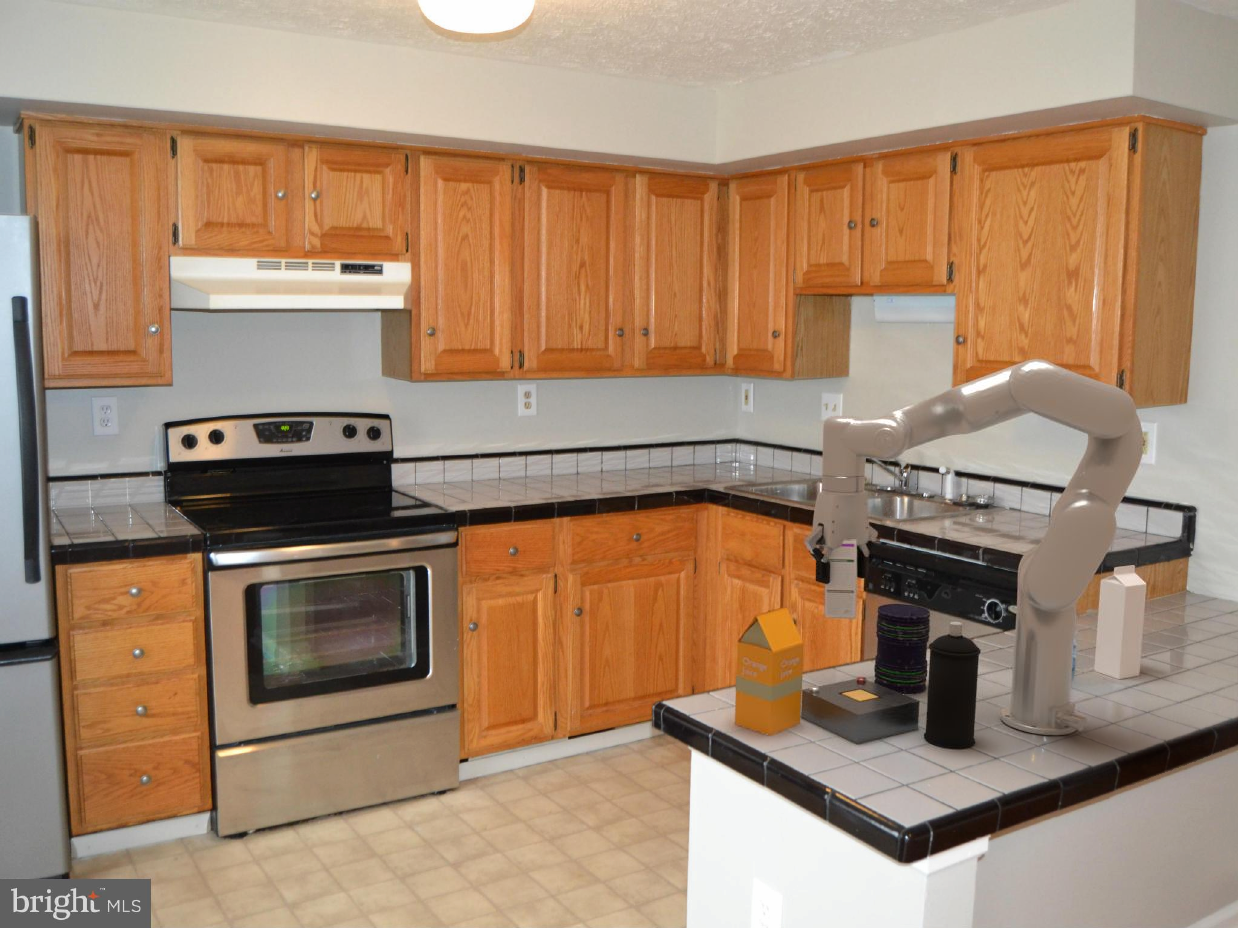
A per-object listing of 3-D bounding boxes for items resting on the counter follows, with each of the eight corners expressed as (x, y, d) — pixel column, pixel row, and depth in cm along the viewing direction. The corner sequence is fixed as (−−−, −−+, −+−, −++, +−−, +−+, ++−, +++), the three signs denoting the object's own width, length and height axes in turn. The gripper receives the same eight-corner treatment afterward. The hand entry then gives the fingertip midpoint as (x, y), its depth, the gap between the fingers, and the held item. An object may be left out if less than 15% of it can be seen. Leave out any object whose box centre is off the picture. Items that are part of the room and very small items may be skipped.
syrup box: (856, 619, 195) (858, 540, 193) (823, 617, 196) (825, 538, 194) (856, 611, 200) (858, 534, 198) (823, 610, 201) (825, 533, 200)
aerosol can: (968, 753, 175) (975, 632, 172) (917, 742, 179) (923, 624, 177) (980, 737, 182) (987, 621, 179) (931, 727, 186) (938, 614, 184)
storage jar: (863, 680, 211) (867, 605, 209) (907, 676, 214) (911, 602, 212) (891, 697, 201) (895, 618, 199) (937, 692, 204) (941, 615, 202)
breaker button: (877, 713, 186) (878, 696, 186) (858, 717, 184) (859, 700, 184) (859, 705, 190) (860, 689, 190) (841, 709, 188) (841, 693, 187)
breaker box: (918, 729, 185) (919, 697, 184) (857, 744, 178) (858, 711, 177) (860, 704, 197) (861, 674, 196) (801, 717, 190) (802, 686, 189)
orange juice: (801, 723, 187) (805, 610, 184) (770, 736, 181) (774, 619, 178) (764, 711, 192) (768, 601, 190) (733, 723, 186) (737, 610, 184)
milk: (1093, 671, 219) (1100, 564, 216) (1114, 667, 222) (1121, 561, 219) (1119, 680, 214) (1126, 570, 211) (1140, 675, 216) (1148, 567, 214)
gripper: (864, 479, 203) (861, 570, 205) (792, 485, 194) (790, 581, 196) (893, 483, 196) (890, 578, 198) (820, 490, 187) (818, 589, 190)
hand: (840, 579), depth 197 cm, fingers closed on syrup box, 8 cm apart
